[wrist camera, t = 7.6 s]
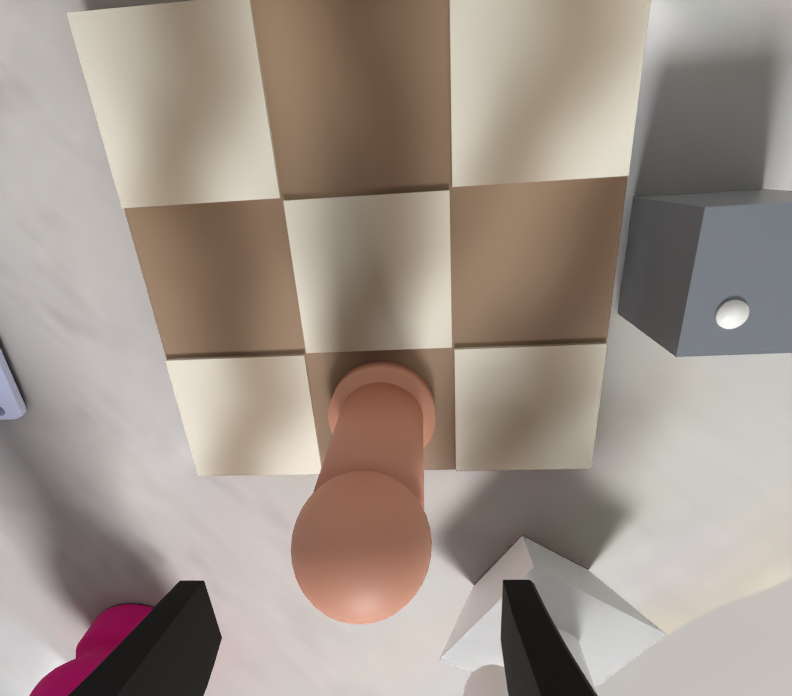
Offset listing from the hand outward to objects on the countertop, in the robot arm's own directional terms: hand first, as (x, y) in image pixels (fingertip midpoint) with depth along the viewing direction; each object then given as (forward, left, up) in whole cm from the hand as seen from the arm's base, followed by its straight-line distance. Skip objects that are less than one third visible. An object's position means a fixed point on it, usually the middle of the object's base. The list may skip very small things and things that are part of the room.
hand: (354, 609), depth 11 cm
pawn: (0, 0, -9) cm, 9 cm away
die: (+12, +6, -10) cm, 17 cm away
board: (0, +6, -10) cm, 12 cm away
